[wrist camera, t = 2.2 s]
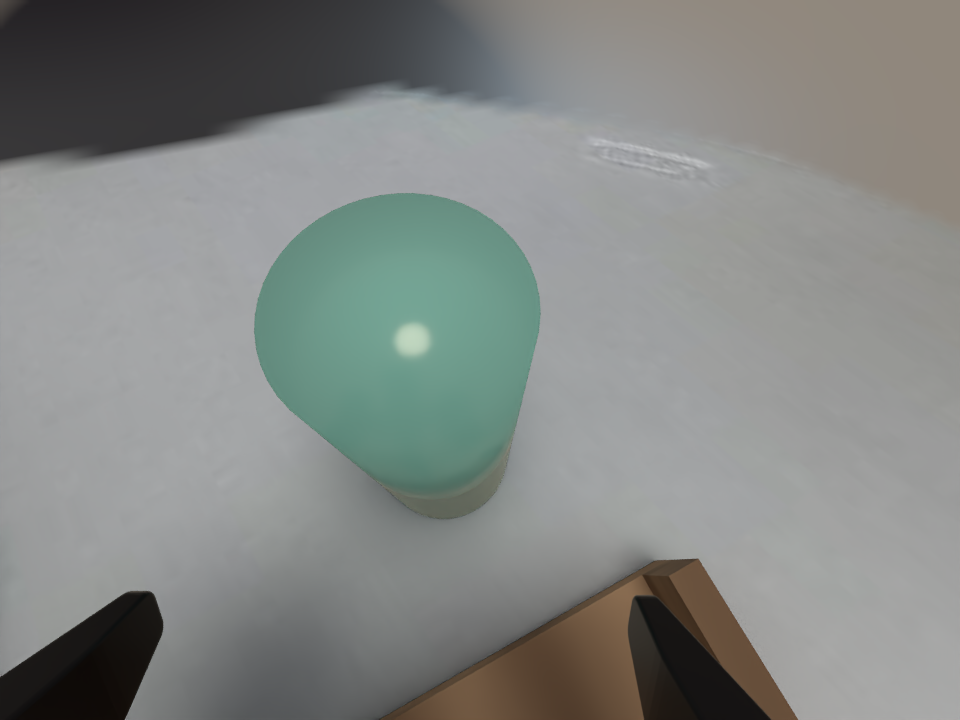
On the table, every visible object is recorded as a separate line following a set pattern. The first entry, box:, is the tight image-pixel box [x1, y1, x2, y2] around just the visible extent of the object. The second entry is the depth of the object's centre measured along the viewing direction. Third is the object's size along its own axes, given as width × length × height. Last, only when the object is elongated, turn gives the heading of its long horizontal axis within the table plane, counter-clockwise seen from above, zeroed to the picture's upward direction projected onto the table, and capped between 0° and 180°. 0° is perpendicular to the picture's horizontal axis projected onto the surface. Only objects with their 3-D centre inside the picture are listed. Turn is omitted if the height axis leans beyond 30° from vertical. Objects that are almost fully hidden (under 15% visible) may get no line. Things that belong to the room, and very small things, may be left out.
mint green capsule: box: [254, 193, 540, 519], centre depth 16 cm, size 6×6×14 cm
